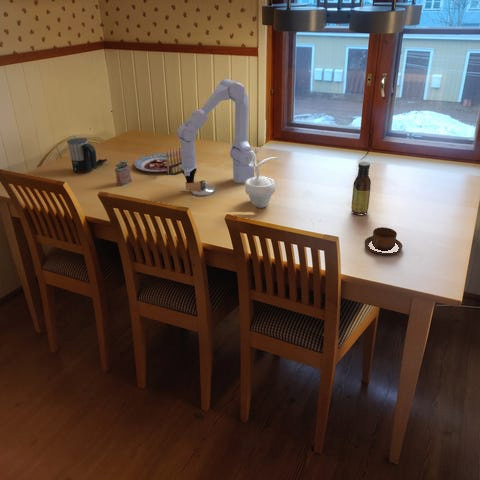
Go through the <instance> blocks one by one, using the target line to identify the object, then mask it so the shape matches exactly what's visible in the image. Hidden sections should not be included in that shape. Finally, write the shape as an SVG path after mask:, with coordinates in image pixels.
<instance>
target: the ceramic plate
mask: <svg viewBox="0 0 480 480" xmlns="http://www.w3.org/2000/svg"><path fill="white" fill-rule="evenodd" d="M169 155H170V153H169ZM134 167H135V168H137V169H138V170H141V171H145V172H151V173H152V172H153V173H155V172H156V173H165V172H167V153H156V154H150V155H146V156H143V157H140V158H138V159H137V160H136V161H135V162H134Z"/></svg>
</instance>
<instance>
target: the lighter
mask: <svg viewBox="0 0 480 480" xmlns="http://www.w3.org/2000/svg"><path fill="white" fill-rule="evenodd" d="M115 167H116V168H114V172H115V176H116V177H115V178H116V186H117V187H123V186H126V185H128V184H130V183H131V182H133V180H132V175H131V166H130V164H129V163H128V161H127V160H123V161H122V160H121V161H120V162H118V163H116V164H115Z"/></svg>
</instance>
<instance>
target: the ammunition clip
mask: <svg viewBox="0 0 480 480" xmlns="http://www.w3.org/2000/svg"><path fill="white" fill-rule="evenodd" d="M166 154H167V171H166V176H177V175H180V174H183V173H182V170H183V169H182V168H180V167H179V165H180V164H182V159H181V148H180V147H179V148H177V147H176V149H175V148H174V149H173V150H172V149H170V151H169V150H167V152H166ZM169 154H170V155H169Z"/></svg>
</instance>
